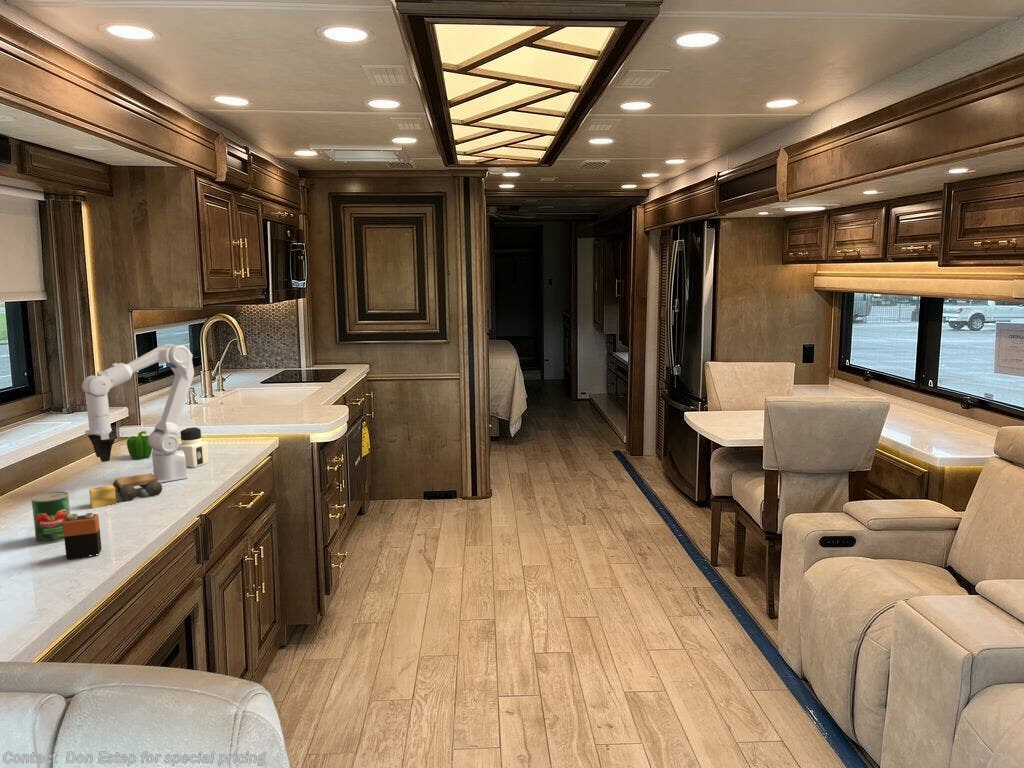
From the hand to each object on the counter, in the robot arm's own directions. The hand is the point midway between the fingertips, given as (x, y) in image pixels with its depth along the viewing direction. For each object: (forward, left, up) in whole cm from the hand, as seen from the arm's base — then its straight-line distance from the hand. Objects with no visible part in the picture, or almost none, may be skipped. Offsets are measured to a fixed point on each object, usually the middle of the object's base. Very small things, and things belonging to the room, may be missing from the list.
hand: (103, 458), depth 223 cm
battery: (+14, +55, -11) cm, 58 cm away
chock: (+3, +14, -10) cm, 18 cm away
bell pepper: (-18, -40, -11) cm, 45 cm away
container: (-30, -17, -11) cm, 36 cm away
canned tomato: (+18, +37, -11) cm, 42 cm away
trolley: (-7, +9, -10) cm, 15 cm away
